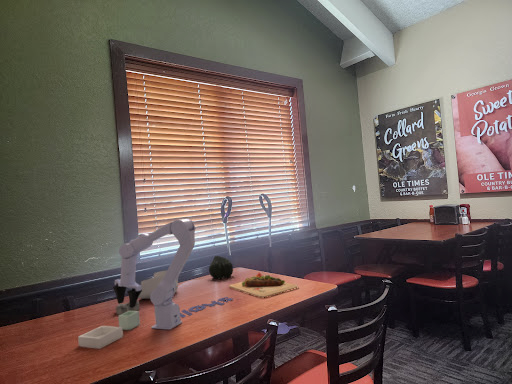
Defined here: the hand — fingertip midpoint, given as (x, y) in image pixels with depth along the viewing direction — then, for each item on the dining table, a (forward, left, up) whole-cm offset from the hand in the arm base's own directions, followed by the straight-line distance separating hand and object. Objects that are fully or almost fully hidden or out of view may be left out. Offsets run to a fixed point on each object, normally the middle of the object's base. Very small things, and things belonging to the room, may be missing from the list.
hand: (126, 305), depth 138 cm
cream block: (+19, -43, -9) cm, 48 cm away
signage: (-20, -28, -10) cm, 36 cm away
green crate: (-1, 0, -9) cm, 9 cm away
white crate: (-1, +14, -9) cm, 17 cm away
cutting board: (-34, -61, -10) cm, 70 cm away
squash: (+3, -82, -9) cm, 82 cm away
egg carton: (+18, -18, -9) cm, 27 cm away
